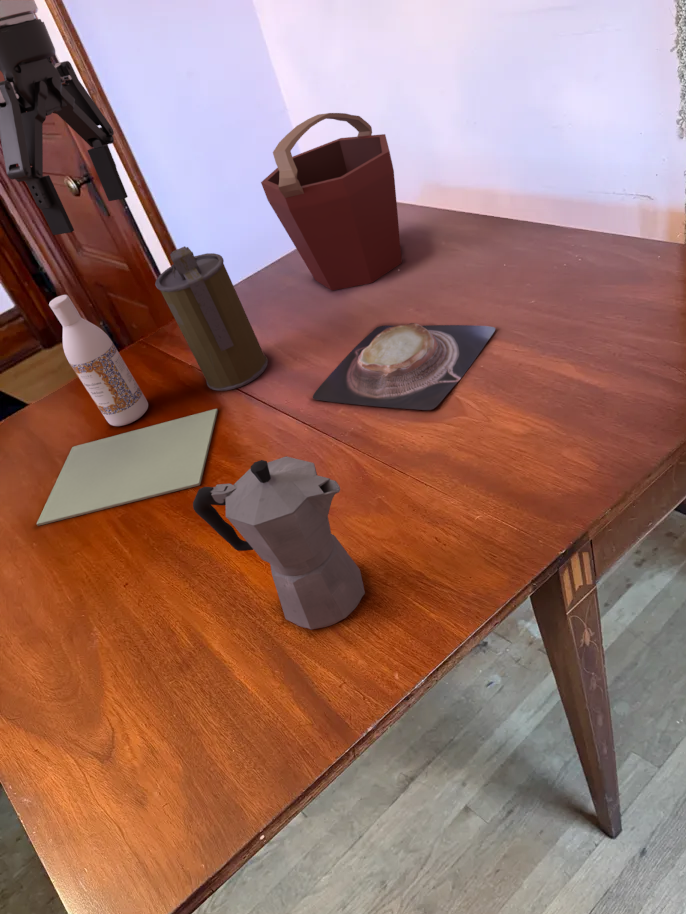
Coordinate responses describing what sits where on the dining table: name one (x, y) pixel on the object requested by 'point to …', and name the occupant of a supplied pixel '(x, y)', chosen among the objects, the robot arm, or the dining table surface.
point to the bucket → (338, 204)
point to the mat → (131, 467)
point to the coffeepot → (289, 537)
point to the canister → (212, 319)
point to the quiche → (405, 366)
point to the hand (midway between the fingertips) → (92, 215)
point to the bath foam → (99, 366)
